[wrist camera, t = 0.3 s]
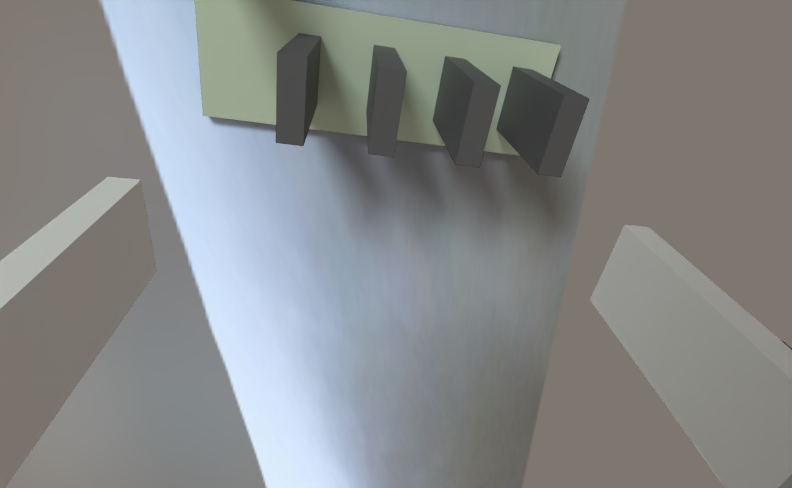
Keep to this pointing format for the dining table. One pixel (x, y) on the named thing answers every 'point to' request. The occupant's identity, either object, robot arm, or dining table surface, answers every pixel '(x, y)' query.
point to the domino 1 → (297, 88)
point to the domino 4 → (541, 120)
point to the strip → (346, 63)
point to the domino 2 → (384, 100)
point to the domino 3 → (465, 110)
